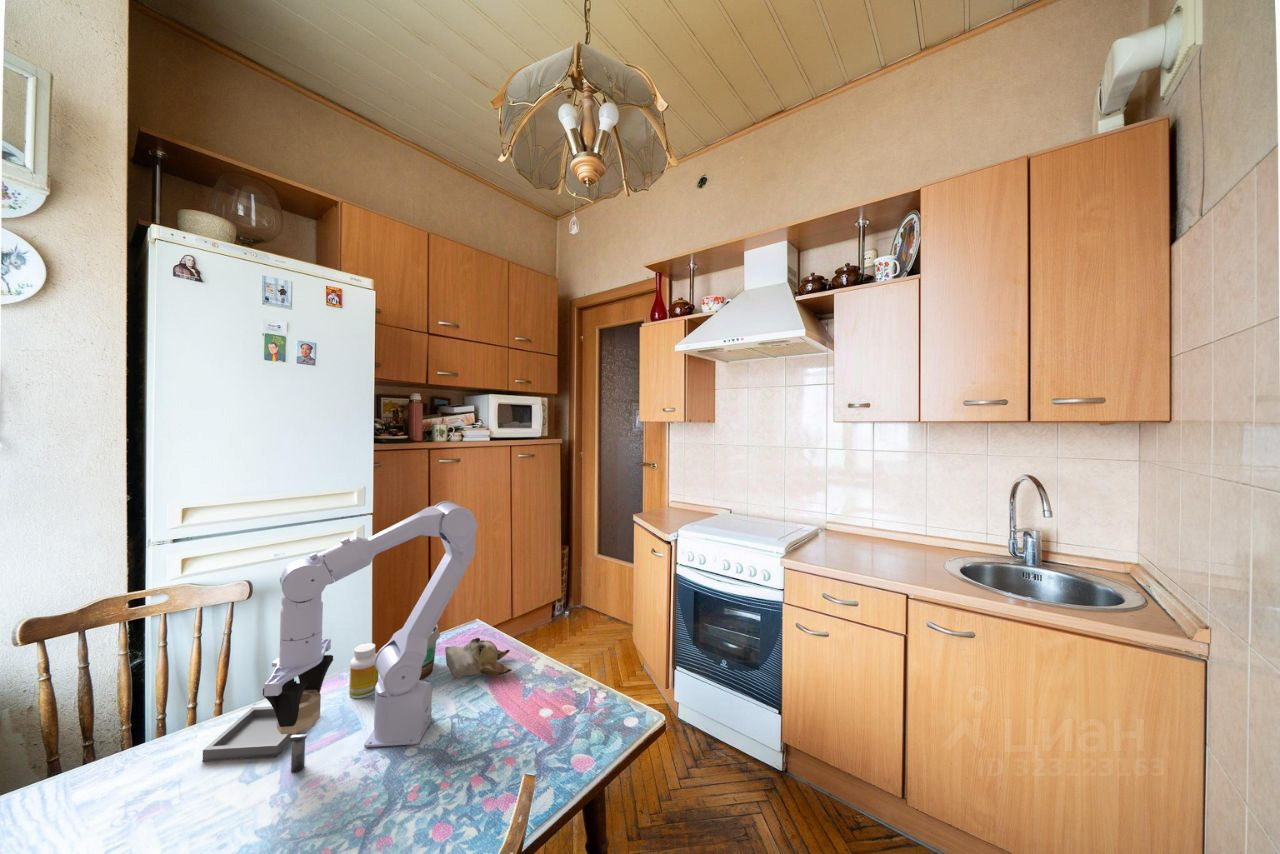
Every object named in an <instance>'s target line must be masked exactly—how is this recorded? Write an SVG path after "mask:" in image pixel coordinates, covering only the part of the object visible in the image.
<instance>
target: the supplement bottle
mask: <svg viewBox="0 0 1280 854" xmlns="http://www.w3.org/2000/svg"><path fill="white" fill-rule="evenodd" d="M376 655H377V653H376V644H375V643H374V642H373V643H370V642H369V643H368V642H367V643H362V644H358V646H357V645H356V647H355V648H354V650H353V658H352V659H351V660H350V662H349V663H350V664H349V679H348V680H349V683H348V684H349V685H348V687H349V688H348V689H349V690H348V693H349V694H348V695H349V697H351V698H353V699H364V698H366V697H367V698H368V697H369V696H372V695H373V694H375V686H376V684H377V682H378V680H379V672H378V671H377V670H376V668H375V664H374V661H375V657H376Z"/></svg>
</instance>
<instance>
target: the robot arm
mask: <svg viewBox="0 0 1280 854" xmlns="http://www.w3.org/2000/svg"><path fill="white" fill-rule="evenodd" d="M478 528H479V525H478V522H477V520H476V518H475V515H474V514H473V512H472V511H471V510H470V509H469V508H466V507H462V506H460V505H458V504H457V503H456V502H453V501H449V500H443V501H440V502H438V503H437V504H436V505H431V506H427V507H425V508H424V509H422V510H420V511H418V512H417V513H414V514H413V515H410V516H409V517H407V518H405V519H402V520H401V521H399V522H397V523H395V524H392V525H391V526H389V527H387V528H385V529H383V530H381V531H379V532H378V533H376V534H373V535H372V536H370V537H368V538H363V537H360V536H354V537H352V538H349V536H345V537H344V538H342V539H340V540H339V542H340V543H339V544H337V545H335V546H332V547H330V548H328V549H326V550H323V551H321V552H320V553H316V552H313V553H310V554H309V558H306V559H305V558H301V559H298V560H294V561H293V562H290V563H289V564H288V565H287V566H286V568H284V569H283V571H282V574H281V576H280V577H279V582H280V585H281V591H282V598H281V606H282V607H281V609H280V620H279V622H280V623H279V625H280V626H279V656H278V657H277V658H276V659H275V660H273V661H272V662H271V667H272V668H275V669H274V670H273V672H272V674H271V675H270V677H269V679H268V680H267V681H266V682H265V683H264V685H263V688H262V696H263V698H265V699H266V700H267V701H268V703H269V704H270V705H271V707H273V709H274V711H275V714H276V717H277V720H278V723H279V726H280V727H291V726H294V725H295V724H296V721H297V718H298V712H299V705H300V700H301V697H302V694H303V691H304V690H317V691H318V692H319V693H320V694H321V690H322V686H323V683H324V680H325V677H326V674H327V672H328V670H329V668H330V666H331V664H332V663H333V661H334V655H332V654H325V653H327V652H329V651H330V650H331V647H332V646H331V644H332V643H331V642H332V640H331V639H332V638H323V617H324V616H323V613H324V611H323V610H324V609H323V608H324V607H323V606H324V602H323V601H322V597H323V595H322V593H323V592H324V590H325V588H326V586H328V585H332V584H334V583H336V582H338V581H340V580H343V578H344V579H345V578H346V577H348V576H350V575H353V574H354V573H357V572H358V571H360V570H363V569H364V568H366V567H368V566H370V565H371V563H372V562H373V559H375V556H376V555H377V554H380V553H382V552H385V551H387V550H389V549H392V548H394V547H396V546H398V545H401V544H403V543H405V542H407V541H409V540H412V539H414V538H416V537H418V536H427V537H434V538H435V537H436V538H439V537H440V538H441V542H442V544H443V548H444V551H445V553H444V555H443V557H442V558H441V560H440V562H439V564H438V565H437V567H436V569H435V571H434V572H433V574H432V576H431V578H430V579H429V582H428V583H427V585H426V587H425V588H424V590H423V591H422V594H421V595H420V597H419V599H418V601H417V602H416V604H415V606H414V607H413V609H412V611H411V613H410V614H409V616H408V618H407V619H406V621H405V623H404V625H403V626H402V628H400V629H399V630H398V631H396V632H394V633H393V634H392V636H391V638H390V639H389V641H388V642H387V643H386V644H384V645H383V646H382V647H381V648H380V649H379V650H378V652H377V653H376V654H377V655H376V657H375V661H374V664H375V668H376V670H377V671H378V675H379V677H378V682H377V684H376V686H375V693H374V714H373V715H374V716H373V717H374V718H373V720H374V721H373V725H374V726H373V730H372V732H371V734H370V735H369V737H367V739H366V741H365V742H364V744H363V747H364V748H373V747H391V746H392V747H394V746H407V745H408V746H409V745H418V744H419V743H420V742H421V740H422V738H423V736H424V734H425V732H426V730H427V728H428V726H429V724H430V722H431V721H432V719H433V714H432V703H433V702H432V701H433V686H432V683H431V682H426V681H423V680H421V681H420V680H419V679H420V676H421V669H422V664H423V662H424V660H425V658H426V655H427V643H428V639H429V637H430V635H431V633H432V631H433V630H434V628H435V626H436V624H437V625H438V622H439V621H440V618H441V616H442V615H443V613H444V612H445V610H446V608H447V605H448V604H449V602H450V600H451V599H452V597H453V595H454V593H455V591H456V589H457V588H458V586H459V584H460V582H461V580H462V578H463V576H464V575H465V573H466V571H467V569H468V567H469V565H470V564H471V562H472V560H473V559H474V556H475V554H476V538H477V537H476V533H477V532H476V531H477V529H478ZM296 677H298V681H299V682H297V681H296V680H295V678H296Z"/></svg>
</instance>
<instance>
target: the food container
mask: <svg viewBox="0 0 1280 854" xmlns="http://www.w3.org/2000/svg"><path fill="white" fill-rule="evenodd" d="M440 636H441V633H440V627H439V626H438V623H437V624H436V626H435V628H434V630H433V631H432V633H431V635H430V637H429V639H428V643H427V655H426V658H425V660H424V662H423V664H422V669H421V676H420V679H419V680H420V681H423V680H425V679H427V678H428V677H430V676H431V675H432V673H433V672H434V666H435V665H434V664H435V657H436V650H437V649H436V647H437V642H438V640H439V638H440Z"/></svg>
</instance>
